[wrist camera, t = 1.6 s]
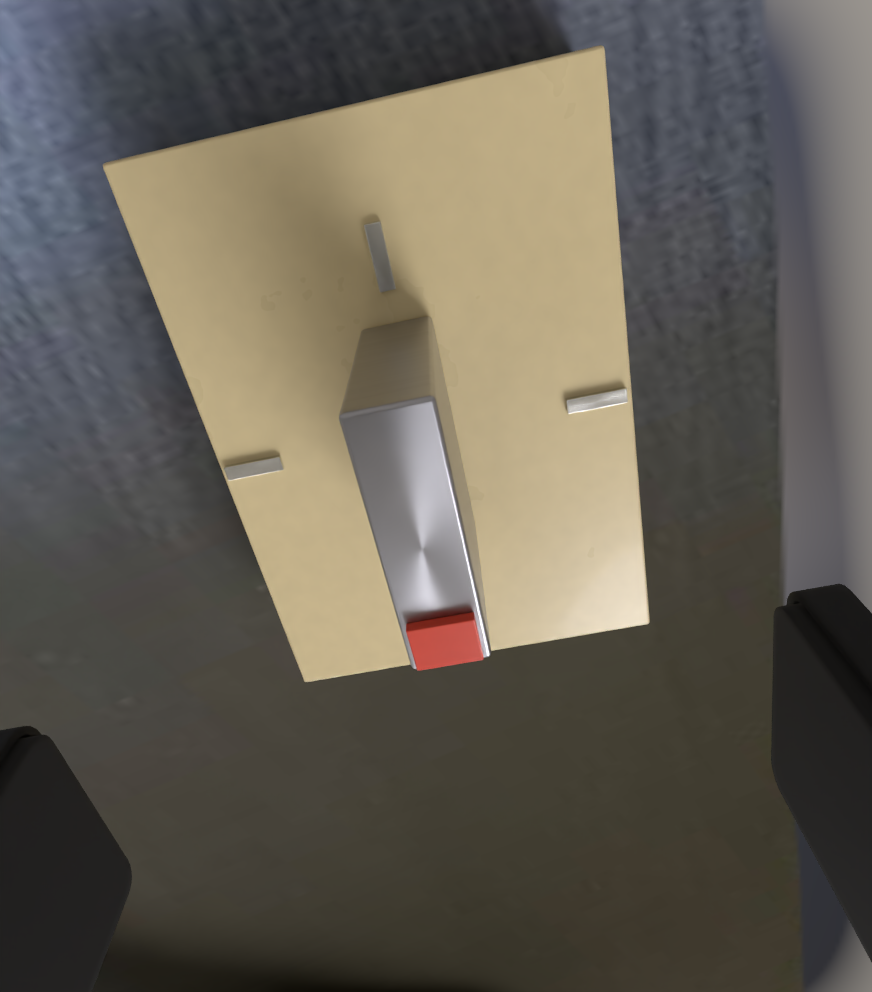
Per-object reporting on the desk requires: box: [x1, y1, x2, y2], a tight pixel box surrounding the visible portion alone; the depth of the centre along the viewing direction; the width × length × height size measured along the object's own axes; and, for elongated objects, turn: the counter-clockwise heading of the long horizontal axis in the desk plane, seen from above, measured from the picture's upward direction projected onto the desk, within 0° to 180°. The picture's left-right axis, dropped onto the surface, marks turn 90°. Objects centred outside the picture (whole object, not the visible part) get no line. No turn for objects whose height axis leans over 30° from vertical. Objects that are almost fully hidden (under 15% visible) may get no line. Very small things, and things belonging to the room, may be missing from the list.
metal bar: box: [339, 316, 491, 671], centre depth 15 cm, size 6×2×5 cm, turn 12°
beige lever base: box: [103, 45, 650, 682], centre depth 18 cm, size 14×10×3 cm
